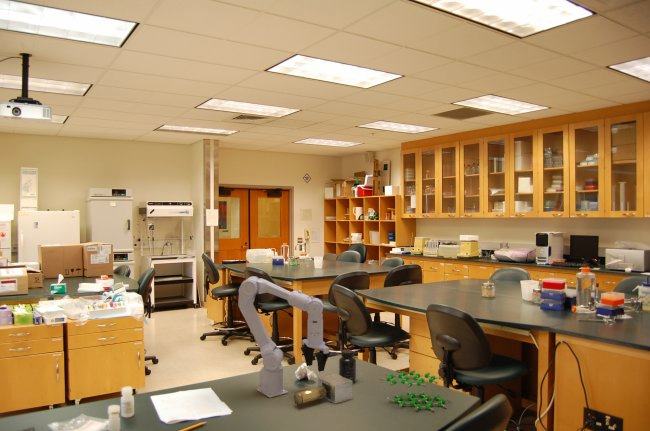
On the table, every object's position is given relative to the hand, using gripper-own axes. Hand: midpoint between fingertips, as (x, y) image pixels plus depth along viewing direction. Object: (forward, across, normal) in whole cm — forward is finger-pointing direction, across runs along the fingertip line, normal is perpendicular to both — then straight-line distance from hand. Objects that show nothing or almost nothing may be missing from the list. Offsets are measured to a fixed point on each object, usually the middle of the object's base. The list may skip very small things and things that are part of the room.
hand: (315, 368), depth 182 cm
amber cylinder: (+8, -7, +7) cm, 13 cm away
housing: (+9, -7, -4) cm, 12 cm away
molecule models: (+10, -28, -24) cm, 38 cm away
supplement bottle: (+10, +3, -18) cm, 21 cm away
